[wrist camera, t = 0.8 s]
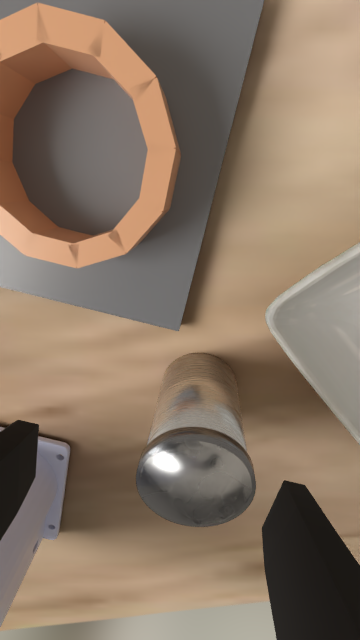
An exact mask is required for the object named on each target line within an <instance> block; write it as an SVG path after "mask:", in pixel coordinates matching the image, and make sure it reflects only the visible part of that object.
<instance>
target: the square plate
mask: <svg viewBox="0 0 360 640" xmlns="http://www.w3.org/2000/svg"><path fill="white" fill-rule="evenodd" d="M265 318H266V323H267V325H268V327H269V329H270V331H271V333H272V334H273V336H274V337H275V339H276V340H277V342H278V343H279V345H280V346H281V347H282V349H283V350H284V351H285V353H286V354H287V355H288V357H289V358H290V359H291V361H292V362H293V363H294V365H295V366H296V367H297V369H298V370H299V371H300V372H301V374H302V375H303V376H304V377H305V379H306V380H307V381H308V382H309V384H310V385H311V386H312V387H313V388H314V390H315V391H316V392H317V393H318V395H319V396H320V397H321V398H322V400H323V401H324V402H325V403H326V404H327V406H328V407H329V408H330V409H331V411H332V412H333V413H334V414H335V415H336V417H337V418H338V419H339V420H340V422H341V423H342V424H343V425H344V426H345V428H346V429H347V430H348V431H349V433H350V434H351V435H352V436H353V437H354V439H355V440H356V441H357V442H358V444H359V445H360V242H359V243H358V244H356V245H354V246H353V247H351V248H350V249H348V250H346V251H345V252H343V253H342V254H340V255H339V256H337V257H335V258H334V259H332V260H330V261H329V262H327V263H325V264H324V265H322V266H320V267H319V268H317V269H316V270H314V271H313V272H312V273H310V274H309V275H307V276H306V277H304V278H303V279H302V280H300V281H299V282H297V283H296V284H294V285H293V286H292V287H290V288H289V289H287V290H286V291H285V292H283V293H282V294H281V295H279V296H278V297H277V298H276V299H275V300H274V301H273V302H272V303H271V304H270V305H269V307H268V308H267V310H266V316H265Z"/></svg>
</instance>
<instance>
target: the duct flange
mask: <svg viewBox="0 0 360 640" xmlns="http://www.w3.org/2000/svg"><path fill="white" fill-rule="evenodd" d="M263 3H264V0H0V287H2V288H7V289H11V290H15V291H19V292H23V293H27V294H31V295H35V296H39V297H43V298H47V299H51V300H55V301H59V302H63V303H67V304H71V305H75V306H79V307H83V308H87V309H91V310H95V311H99V312H103V313H107V314H111V315H115V316H119V317H123V318H127V319H131V320H135V321H139V322H143V323H147V324H151V325H155V326H159V327H163V328H167V329H171V330H175V331H179V329H180V325H181V321H182V317H183V313H184V309H185V305H186V302H187V298H188V294H189V290H190V286H191V282H192V278H193V274H194V271H195V267H196V263H197V259H198V255H199V251H200V247H201V243H202V240H203V236H204V232H205V228H206V224H207V220H208V216H209V212H210V209H211V205H212V201H213V197H214V193H215V189H216V185H217V181H218V178H219V174H220V170H221V166H222V162H223V158H224V154H225V150H226V146H227V143H228V139H229V135H230V131H231V127H232V123H233V119H234V115H235V112H236V108H237V104H238V100H239V96H240V92H241V88H242V84H243V81H244V77H245V73H246V69H247V65H248V61H249V57H250V53H251V50H252V46H253V42H254V38H255V34H256V30H257V26H258V22H259V19H260V15H261V11H262V7H263Z"/></svg>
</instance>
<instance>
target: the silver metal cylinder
mask: <svg viewBox="0 0 360 640" xmlns="http://www.w3.org/2000/svg"><path fill="white" fill-rule="evenodd" d="M136 484H137V489H138V492H139V494H140V496H141V498H142V500H143V501H144V502H145V504H146V505H147V506H148V507H149V508H150V509H151V510H152V511H154V512H155V513H156V514H158V515H159V516H161V517H163V518H165V519H167V520H169V521H171V522H174V523H177V524H181V525H186V526H193V527H207V526H214V525H219V524H222V523H225V522H228V521H230V520H232V519H234V518H236V517H237V516H239V515H240V514H242V513H243V512H244V511H245V510H246V509H247V507H248V506H249V505H250V503H251V502H252V500H253V497H254V494H255V489H256V481H255V475H254V469H253V464H252V461H251V459H250V457H249V455H248V453H247V448H246V442H245V435H244V428H243V422H242V415H241V409H240V402H239V395H238V389H237V382H236V378H235V375H234V373H233V371H232V369H231V368H230V367H229V366H228V365H227V364H226V363H225V362H224V361H223V360H221V359H220V358H218V357H216V356H213V355H210V354H205V353H192V354H187V355H184V356H182V357H179V358H178V359H176V360H175V361H173V362H172V363H171V364H170V365H169V367H168V368H167V369H166V371H165V373H164V376H163V380H162V384H161V389H160V393H159V397H158V401H157V405H156V410H155V414H154V418H153V422H152V426H151V431H150V435H149V439H148V443H147V446H146V448H145V449H144V451H143V453H142V455H141V458H140V461H139V465H138V469H137V474H136Z"/></svg>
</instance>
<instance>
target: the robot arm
mask: <svg viewBox="0 0 360 640" xmlns="http://www.w3.org/2000/svg"><path fill="white" fill-rule="evenodd" d="M38 431H39V425H38V424H34V423H30V422H25V421H21V420H17V421H15V422H14V423H12V424H11V425H9V426H8V427H6V428H3V427H0V627H1V625H2V623H3V621H4V619H5V616H6V614H7V612H8V610H9V608H10V606H11V604H12V602H13V600H14V597H15V595H16V593H17V591H18V589H19V587H20V585H21V583H22V581H23V578H24V576H25V574H26V572H27V570H28V568H29V566H30V564H31V562H32V559H33V557H34V555H35V553H36V551H37V549H38V547H39V545H40V543H41V541H42V538H45V539H50V540H54V539H56V538H57V536H58V534H59V529H60V522H61V515H62V507H63V500H64V493H65V485H66V478H67V471H68V463H69V456H70V446H69V445H68V444H67V443H65V442H61V441H57V440H53V439H49V438H44V437H40V436H38ZM60 454H61V455H63V456H61V455H60ZM262 537H263V553H264V566H265V574H266V580H267V586H268V592H269V598H270V603H271V609H272V615H273V621H274V626H275V632H276V638H277V640H360V565H359V564H358V562H357V561H356V560H355V558H354V557H353V555H352V554H351V552H350V551H349V550H348V548H347V547H346V545H345V544H344V542H343V541H342V539H341V538H340V536H339V535H338V533H337V532H336V531H335V529H334V528H333V526H332V525H331V523H330V522H329V520H328V519H327V517H326V516H325V514H324V513H323V511H322V510H321V508H320V507H319V505H318V504H317V502H316V501H315V499H314V498H313V496H312V495H311V493H310V492H309V490H308V489H307V488H306V486H305V485H302V484H298V483H293V482H289V481H285V480H284V482H283V484H282V486H281V488H280V490H279V492H278V494H277V497H276V499H275V501H274V503H273V505H272V507H271V509H270V512H269V514H268V516H267V518H266V520H265V522H264V525H263V527H262Z"/></svg>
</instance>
